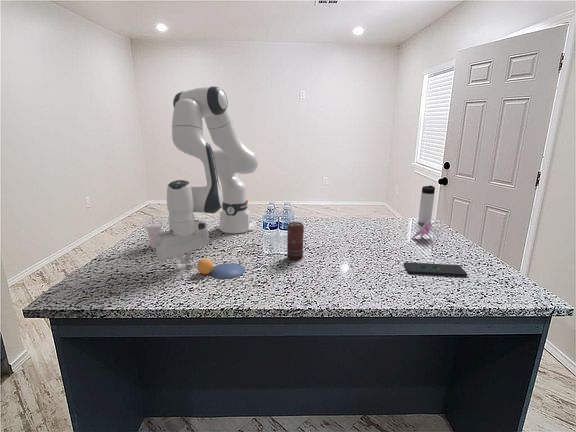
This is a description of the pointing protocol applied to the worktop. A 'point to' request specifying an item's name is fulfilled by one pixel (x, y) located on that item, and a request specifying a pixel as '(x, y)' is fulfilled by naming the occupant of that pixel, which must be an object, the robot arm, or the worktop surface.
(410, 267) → the smart home device
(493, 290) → the worktop surface
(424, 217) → the travel mug
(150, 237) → the smoothie
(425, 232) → the pink bird figurine
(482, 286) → the worktop surface
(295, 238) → the can
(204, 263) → the ball
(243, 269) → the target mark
